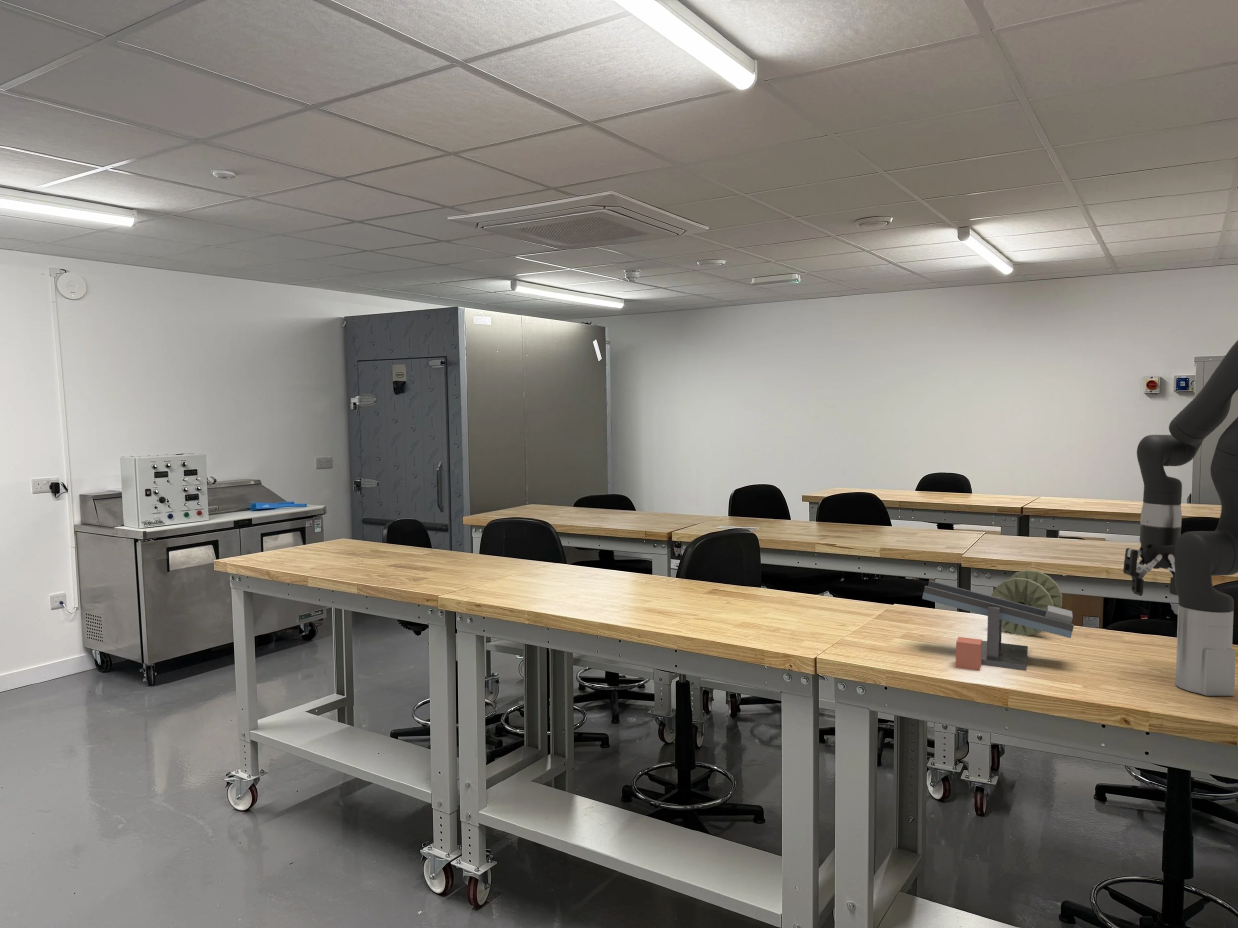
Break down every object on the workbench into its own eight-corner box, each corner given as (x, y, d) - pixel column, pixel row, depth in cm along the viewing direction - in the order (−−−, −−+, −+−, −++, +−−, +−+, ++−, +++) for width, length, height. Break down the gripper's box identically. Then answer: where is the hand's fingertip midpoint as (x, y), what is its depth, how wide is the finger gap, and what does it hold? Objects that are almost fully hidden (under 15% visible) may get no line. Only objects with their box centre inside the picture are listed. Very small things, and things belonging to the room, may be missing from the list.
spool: (1051, 639, 201) (1053, 582, 200) (989, 630, 210) (990, 575, 209) (1061, 627, 214) (1062, 573, 213) (1002, 619, 223) (1003, 567, 223)
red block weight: (981, 665, 178) (982, 639, 178) (979, 670, 174) (980, 644, 174) (957, 661, 181) (958, 636, 181) (955, 667, 176) (956, 641, 176)
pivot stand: (1027, 650, 190) (1029, 598, 190) (1026, 670, 174) (1027, 613, 174) (965, 643, 197) (966, 592, 196) (958, 661, 181) (960, 606, 181)
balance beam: (1069, 628, 183) (1074, 609, 182) (1070, 639, 173) (1075, 619, 172) (927, 591, 198) (931, 574, 197) (921, 599, 188) (925, 581, 187)
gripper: (1141, 526, 170) (1137, 598, 171) (1204, 526, 170) (1200, 598, 171) (1118, 520, 177) (1114, 590, 178) (1179, 521, 178) (1174, 590, 179)
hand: (1156, 594), depth 175 cm, fingers open, 8 cm apart
